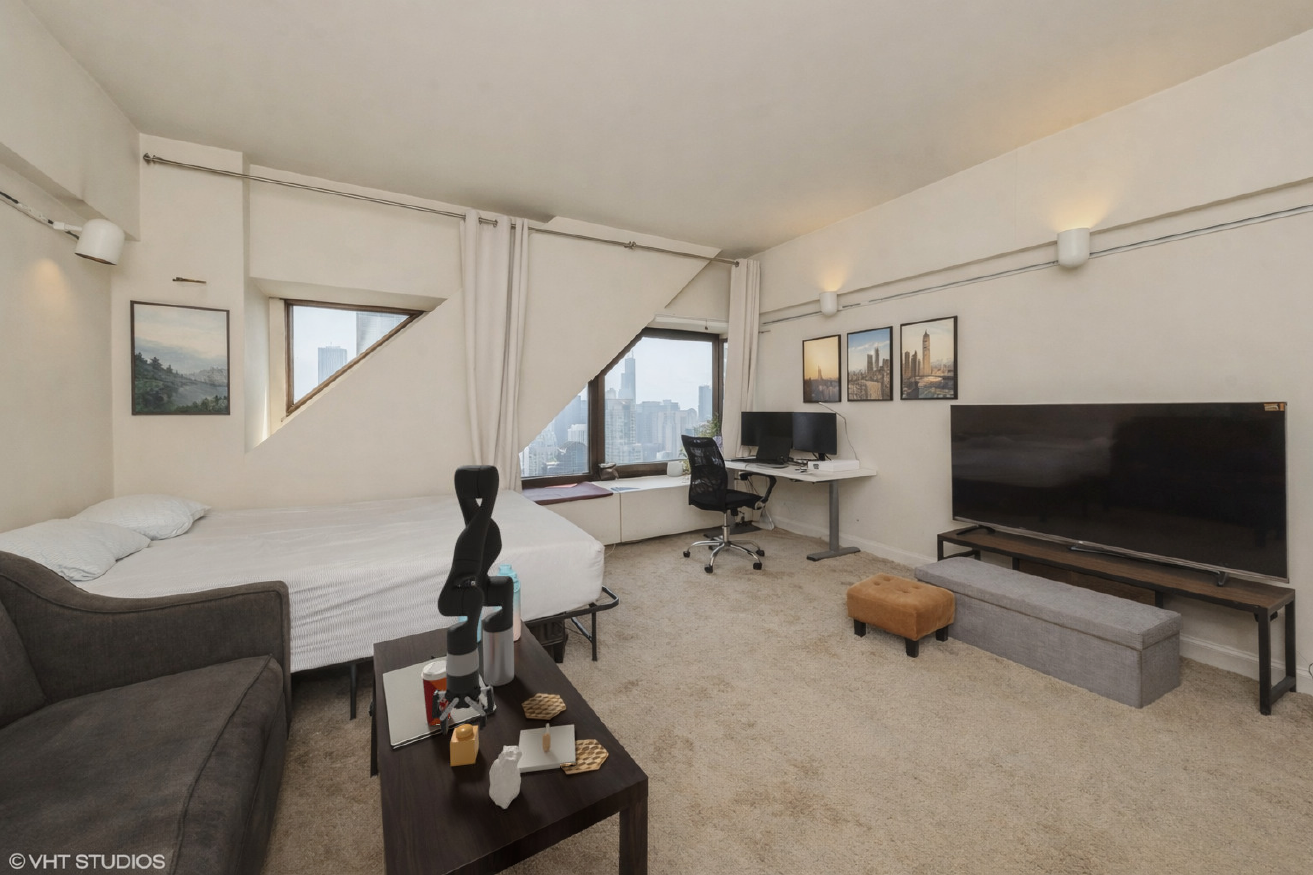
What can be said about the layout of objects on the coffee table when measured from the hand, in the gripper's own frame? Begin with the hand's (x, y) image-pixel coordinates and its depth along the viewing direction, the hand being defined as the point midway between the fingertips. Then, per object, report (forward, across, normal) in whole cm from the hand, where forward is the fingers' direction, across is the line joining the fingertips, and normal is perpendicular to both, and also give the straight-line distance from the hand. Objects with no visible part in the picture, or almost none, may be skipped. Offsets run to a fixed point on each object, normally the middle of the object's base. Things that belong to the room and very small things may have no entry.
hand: (464, 730), depth 123 cm
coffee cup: (+7, +10, -18) cm, 21 cm away
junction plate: (+7, -20, 0) cm, 21 cm away
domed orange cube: (+7, 0, 0) cm, 7 cm away
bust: (+8, -11, +13) cm, 19 cm away
